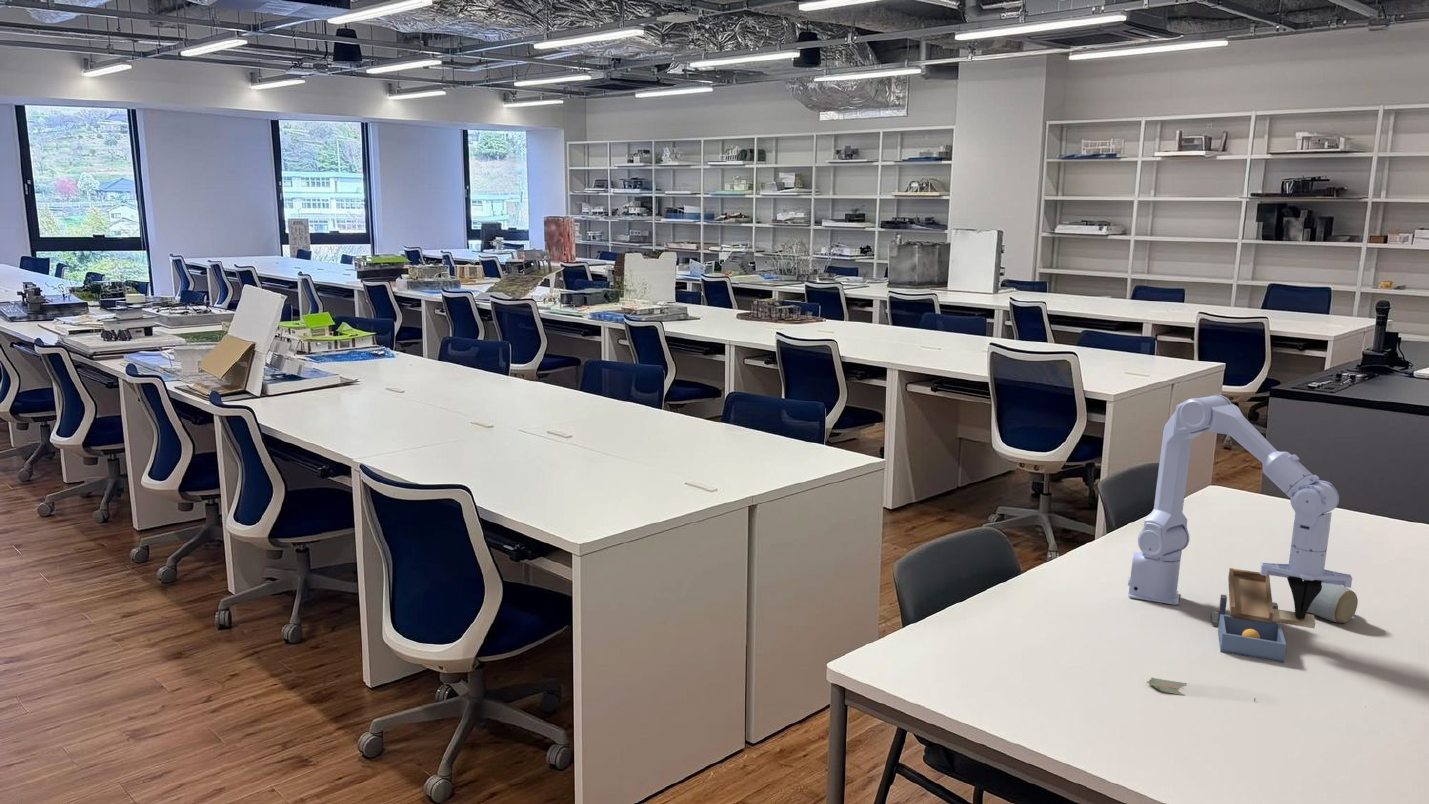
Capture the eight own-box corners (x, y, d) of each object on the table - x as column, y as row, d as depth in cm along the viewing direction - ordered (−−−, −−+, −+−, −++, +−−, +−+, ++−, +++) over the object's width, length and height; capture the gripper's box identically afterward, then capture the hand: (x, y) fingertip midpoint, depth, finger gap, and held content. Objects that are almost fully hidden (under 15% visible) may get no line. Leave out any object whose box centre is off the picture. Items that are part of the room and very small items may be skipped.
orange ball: (1242, 637, 186) (1243, 624, 188) (1240, 646, 188) (1240, 633, 190) (1261, 640, 184) (1261, 627, 186) (1258, 650, 186) (1258, 636, 188)
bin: (1220, 651, 185) (1222, 633, 184) (1217, 631, 194) (1220, 614, 193) (1283, 662, 181) (1286, 644, 180) (1278, 641, 190) (1280, 623, 189)
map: (1143, 680, 173) (1143, 675, 173) (1271, 693, 170) (1272, 688, 170) (1149, 693, 169) (1150, 688, 168) (1282, 708, 165) (1283, 702, 165)
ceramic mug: (1336, 628, 197) (1342, 591, 195) (1295, 613, 204) (1300, 577, 202) (1366, 619, 202) (1372, 583, 201) (1325, 605, 209) (1330, 570, 208)
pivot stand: (1212, 625, 197) (1215, 600, 196) (1211, 615, 202) (1214, 590, 201) (1282, 637, 192) (1285, 611, 191) (1279, 626, 197) (1282, 600, 196)
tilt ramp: (1228, 627, 192) (1231, 606, 191) (1226, 587, 204) (1229, 568, 202) (1312, 641, 187) (1316, 620, 185) (1305, 599, 198) (1309, 579, 197)
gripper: (1266, 547, 185) (1257, 617, 187) (1358, 559, 179) (1348, 631, 181) (1263, 536, 191) (1254, 604, 194) (1352, 548, 185) (1342, 618, 188)
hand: (1299, 616), depth 188 cm, fingers closed, pressing on tilt ramp
